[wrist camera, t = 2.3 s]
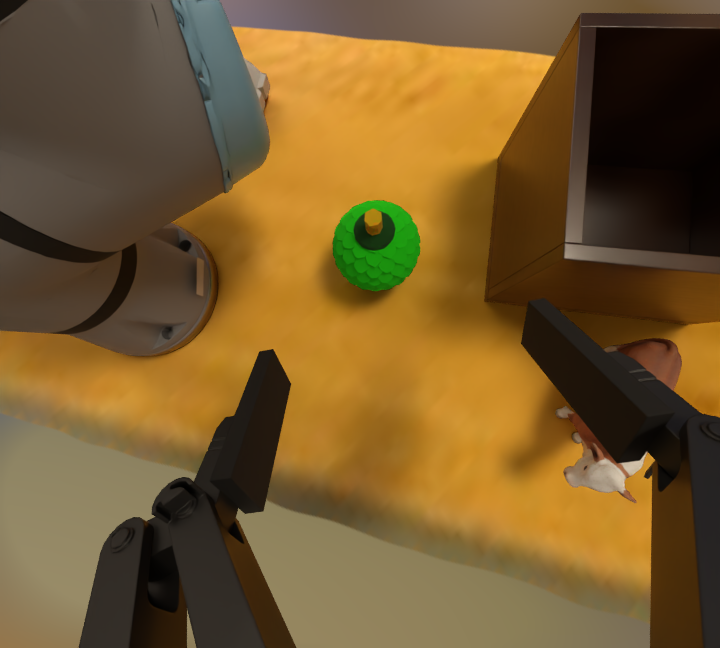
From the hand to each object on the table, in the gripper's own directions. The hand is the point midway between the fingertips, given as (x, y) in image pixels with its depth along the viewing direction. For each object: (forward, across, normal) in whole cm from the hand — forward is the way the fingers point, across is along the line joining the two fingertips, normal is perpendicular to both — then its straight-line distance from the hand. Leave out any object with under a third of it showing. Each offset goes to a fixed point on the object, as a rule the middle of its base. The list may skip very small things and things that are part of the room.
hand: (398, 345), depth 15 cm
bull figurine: (+6, +16, -16) cm, 24 cm away
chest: (+16, +22, -4) cm, 27 cm away
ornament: (+17, 0, -3) cm, 18 cm away
